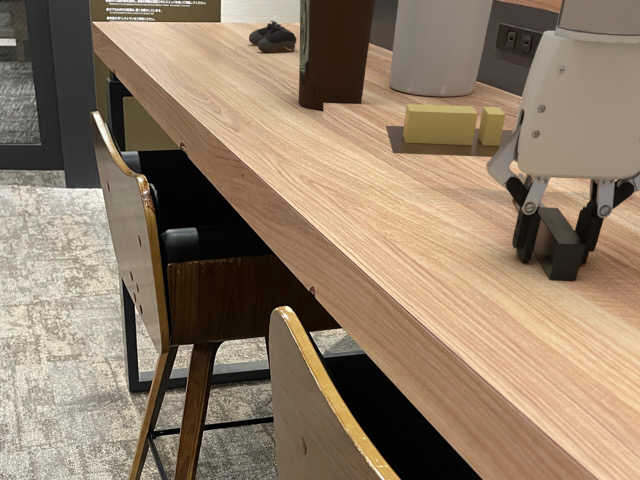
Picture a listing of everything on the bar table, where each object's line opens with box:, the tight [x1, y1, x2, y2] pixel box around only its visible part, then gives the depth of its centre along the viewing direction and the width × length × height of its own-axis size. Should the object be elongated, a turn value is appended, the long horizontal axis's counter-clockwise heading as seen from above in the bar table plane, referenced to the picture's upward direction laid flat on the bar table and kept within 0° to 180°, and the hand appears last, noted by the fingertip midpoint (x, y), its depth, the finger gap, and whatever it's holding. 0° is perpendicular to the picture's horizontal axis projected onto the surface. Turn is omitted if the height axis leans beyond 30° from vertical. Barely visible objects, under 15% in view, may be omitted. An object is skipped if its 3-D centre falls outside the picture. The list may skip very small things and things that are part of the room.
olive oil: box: [298, 0, 376, 111], centre depth 115 cm, size 11×11×25 cm
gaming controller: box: [248, 20, 298, 53], centre depth 163 cm, size 12×8×5 cm, turn 10°
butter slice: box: [478, 106, 506, 146], centre depth 99 cm, size 2×4×4 cm, turn 175°
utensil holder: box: [389, 0, 494, 98], centre depth 128 cm, size 15×15×18 cm
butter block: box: [403, 103, 479, 145], centre depth 99 cm, size 8×4×4 cm, turn 86°
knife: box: [512, 172, 585, 282], centre depth 76 cm, size 22×2×3 cm, turn 176°
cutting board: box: [385, 125, 513, 158], centre depth 100 cm, size 18×14×2 cm
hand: (550, 255), depth 72 cm, fingers open, 4 cm apart
